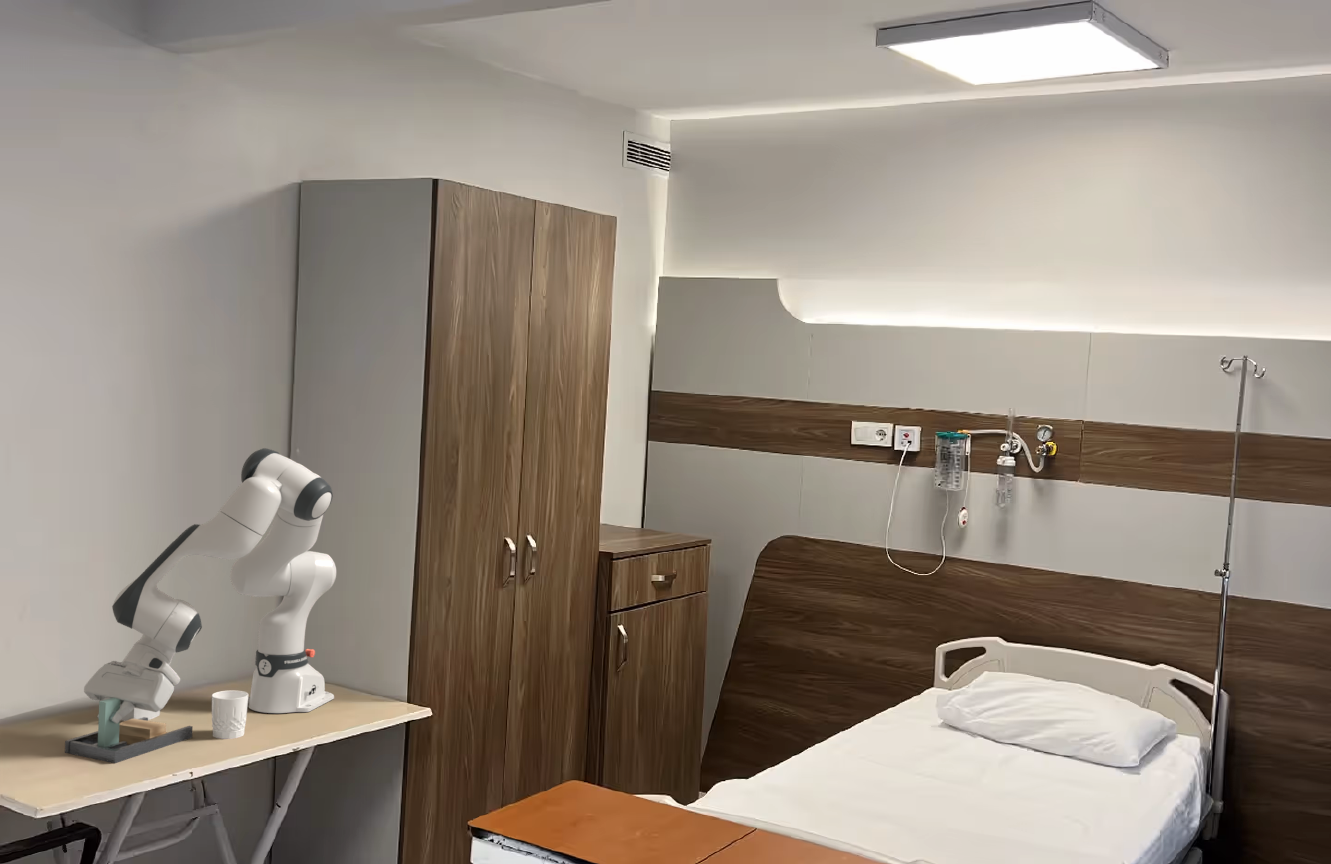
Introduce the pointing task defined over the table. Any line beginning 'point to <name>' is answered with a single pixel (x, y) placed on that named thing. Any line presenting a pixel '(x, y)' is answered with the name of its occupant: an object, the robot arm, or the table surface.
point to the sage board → (108, 722)
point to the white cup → (229, 713)
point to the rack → (123, 745)
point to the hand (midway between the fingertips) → (107, 720)
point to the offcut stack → (140, 730)
